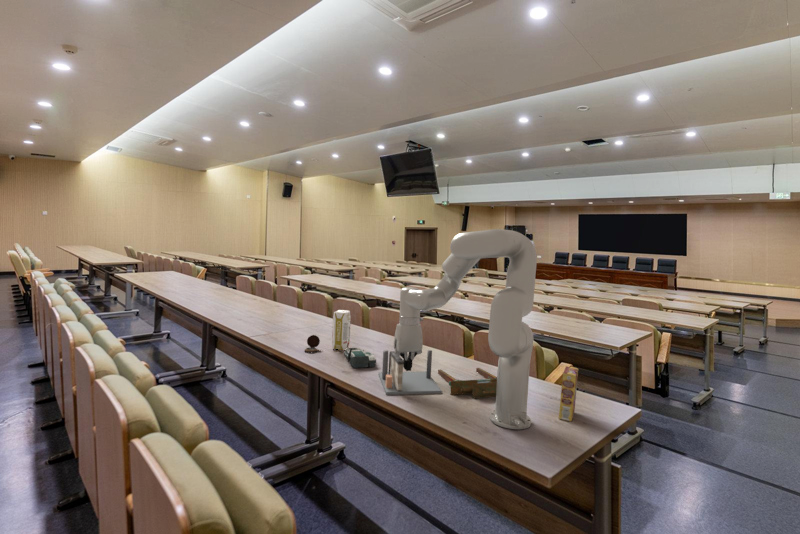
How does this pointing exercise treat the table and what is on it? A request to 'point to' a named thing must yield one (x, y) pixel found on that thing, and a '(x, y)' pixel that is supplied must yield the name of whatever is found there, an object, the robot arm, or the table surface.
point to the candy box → (568, 393)
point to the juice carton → (341, 329)
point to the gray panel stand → (409, 379)
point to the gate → (396, 369)
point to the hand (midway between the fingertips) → (407, 369)
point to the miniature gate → (472, 385)
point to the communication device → (360, 358)
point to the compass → (312, 343)
